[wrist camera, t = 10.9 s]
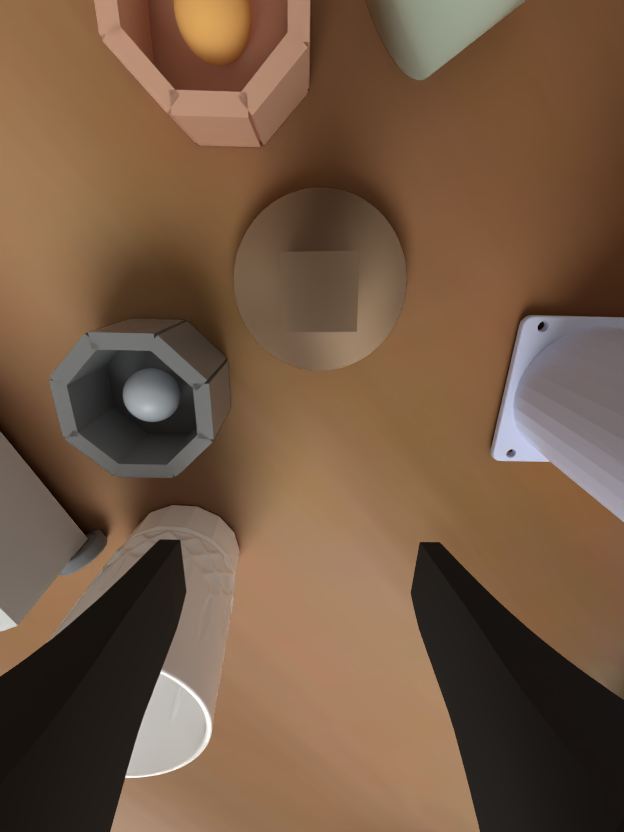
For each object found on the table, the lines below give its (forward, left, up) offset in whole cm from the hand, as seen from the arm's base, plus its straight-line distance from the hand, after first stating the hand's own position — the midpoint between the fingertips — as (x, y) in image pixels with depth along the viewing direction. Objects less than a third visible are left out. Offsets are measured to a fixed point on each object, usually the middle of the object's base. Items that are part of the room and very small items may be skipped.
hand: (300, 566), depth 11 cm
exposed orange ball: (+3, -16, -10) cm, 19 cm away
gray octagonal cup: (+7, -2, -10) cm, 13 cm away
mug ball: (+7, -2, -10) cm, 12 cm away
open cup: (+3, -16, -10) cm, 20 cm away
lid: (-1, -8, -11) cm, 13 cm away
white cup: (+7, +9, -11) cm, 16 cm away
